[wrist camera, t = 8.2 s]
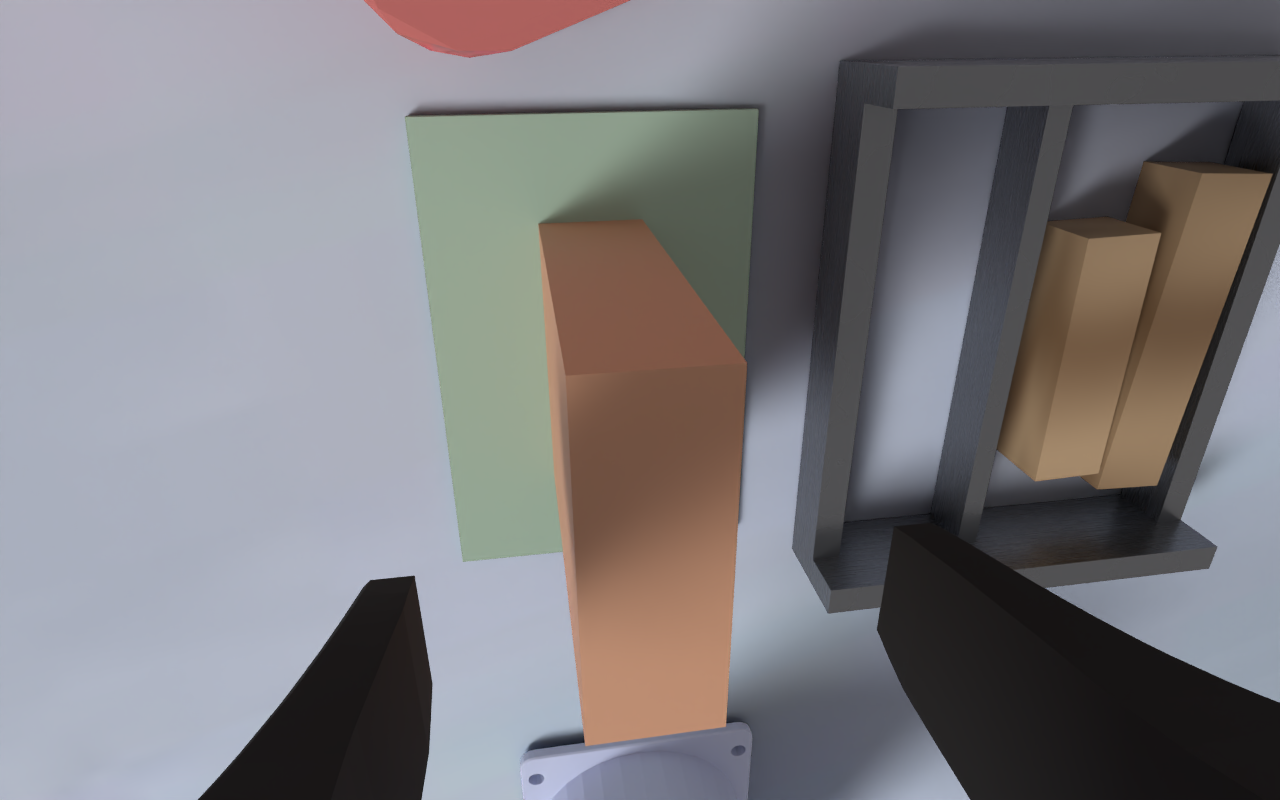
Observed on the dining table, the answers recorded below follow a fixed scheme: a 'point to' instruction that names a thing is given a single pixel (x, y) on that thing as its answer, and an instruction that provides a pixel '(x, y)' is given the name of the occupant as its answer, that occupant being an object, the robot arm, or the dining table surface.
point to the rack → (1010, 317)
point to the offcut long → (1176, 305)
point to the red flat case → (483, 21)
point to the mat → (512, 282)
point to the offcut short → (1076, 345)
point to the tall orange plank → (642, 478)
